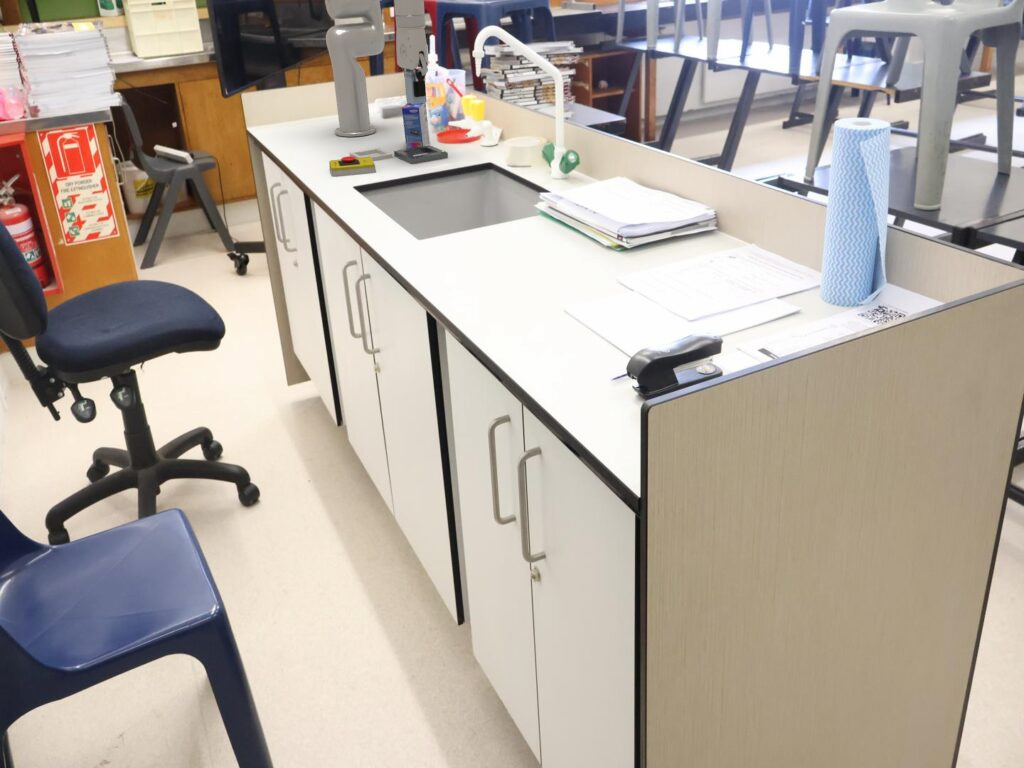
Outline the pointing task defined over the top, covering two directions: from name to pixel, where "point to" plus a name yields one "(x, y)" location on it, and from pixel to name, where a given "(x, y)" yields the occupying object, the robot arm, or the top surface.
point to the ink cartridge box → (415, 125)
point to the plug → (412, 89)
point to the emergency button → (351, 166)
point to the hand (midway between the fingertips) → (416, 94)
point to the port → (408, 155)
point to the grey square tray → (372, 154)
